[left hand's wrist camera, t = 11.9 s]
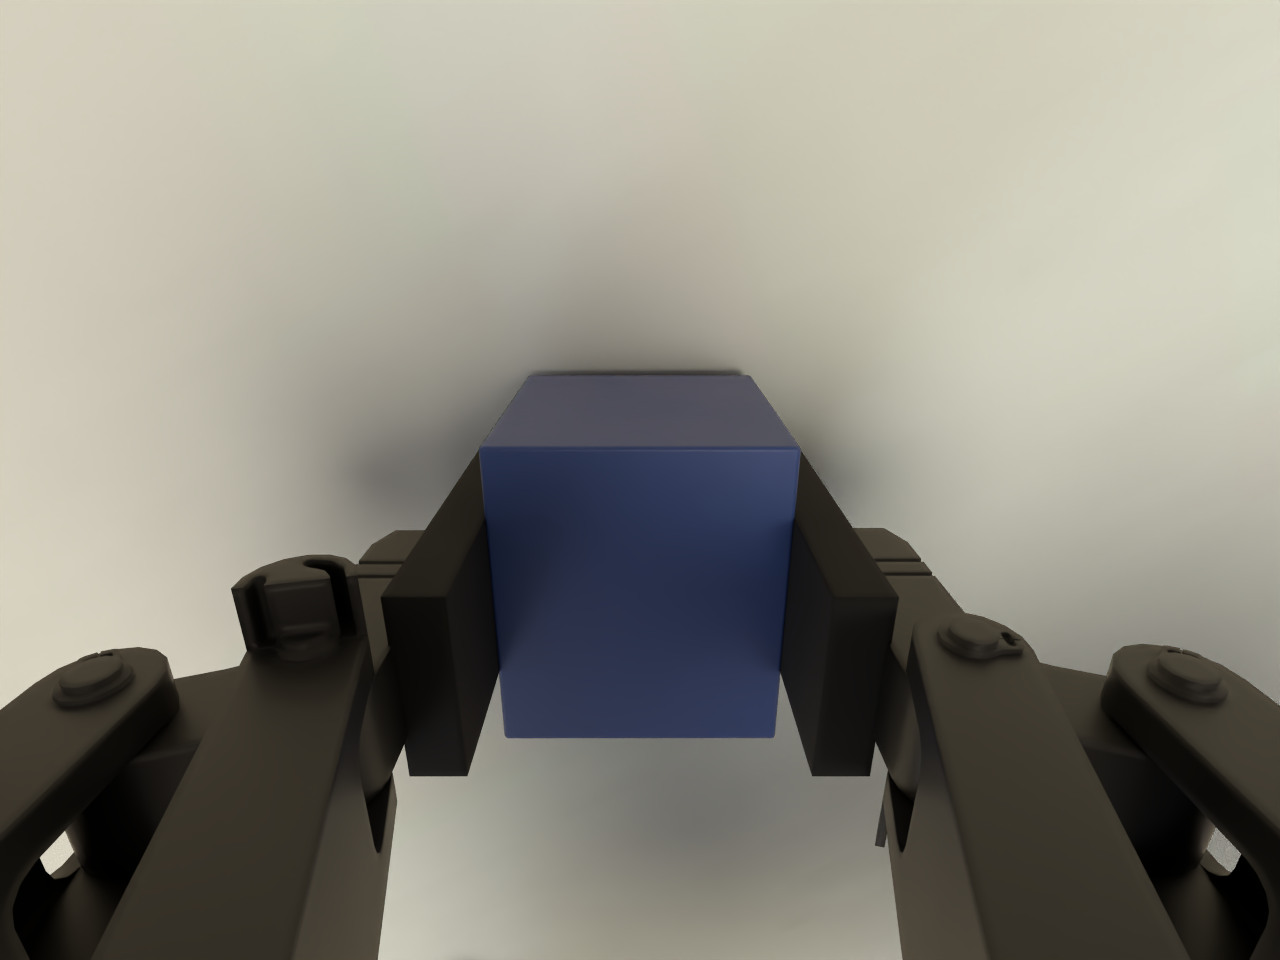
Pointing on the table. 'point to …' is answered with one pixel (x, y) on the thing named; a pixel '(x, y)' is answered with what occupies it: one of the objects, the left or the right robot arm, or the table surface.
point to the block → (639, 555)
